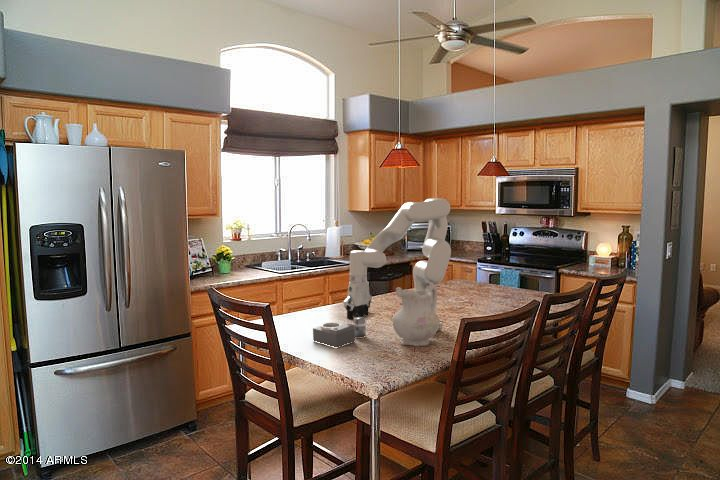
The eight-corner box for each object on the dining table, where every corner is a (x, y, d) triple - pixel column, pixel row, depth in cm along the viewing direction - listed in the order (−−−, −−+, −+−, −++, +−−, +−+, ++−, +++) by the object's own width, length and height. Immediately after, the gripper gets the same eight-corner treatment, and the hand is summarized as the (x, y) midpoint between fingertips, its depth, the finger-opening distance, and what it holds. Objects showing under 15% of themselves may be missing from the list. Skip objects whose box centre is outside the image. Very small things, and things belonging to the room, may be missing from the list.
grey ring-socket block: (354, 342, 209) (354, 323, 208) (336, 348, 201) (335, 329, 200) (331, 336, 219) (331, 318, 218) (313, 342, 211) (312, 323, 210)
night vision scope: (351, 324, 246) (338, 309, 250) (368, 316, 262) (355, 303, 265) (359, 313, 243) (346, 298, 246) (376, 306, 259) (364, 292, 262)
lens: (368, 336, 217) (368, 318, 217) (360, 339, 213) (359, 320, 213) (359, 333, 221) (359, 316, 220) (351, 336, 217) (350, 318, 216)
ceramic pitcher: (414, 334, 222) (409, 279, 221) (452, 338, 210) (448, 280, 209) (385, 347, 206) (380, 288, 204) (425, 352, 193) (420, 289, 192)
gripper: (350, 282, 206) (350, 322, 207) (377, 277, 218) (377, 315, 220) (338, 280, 211) (337, 319, 212) (365, 275, 223) (364, 312, 225)
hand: (357, 317), depth 216 cm, fingers open, 9 cm apart
